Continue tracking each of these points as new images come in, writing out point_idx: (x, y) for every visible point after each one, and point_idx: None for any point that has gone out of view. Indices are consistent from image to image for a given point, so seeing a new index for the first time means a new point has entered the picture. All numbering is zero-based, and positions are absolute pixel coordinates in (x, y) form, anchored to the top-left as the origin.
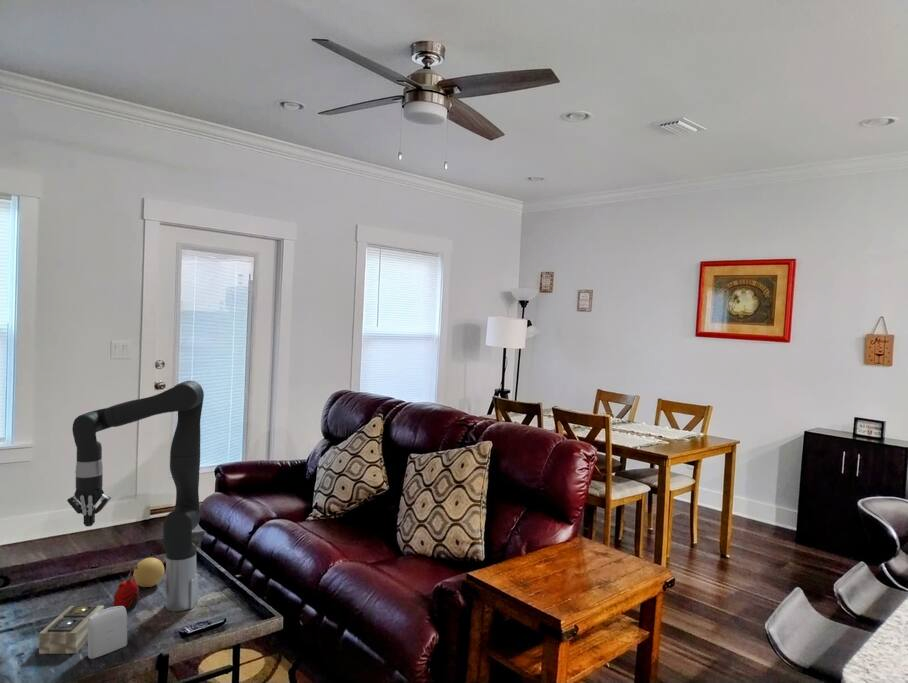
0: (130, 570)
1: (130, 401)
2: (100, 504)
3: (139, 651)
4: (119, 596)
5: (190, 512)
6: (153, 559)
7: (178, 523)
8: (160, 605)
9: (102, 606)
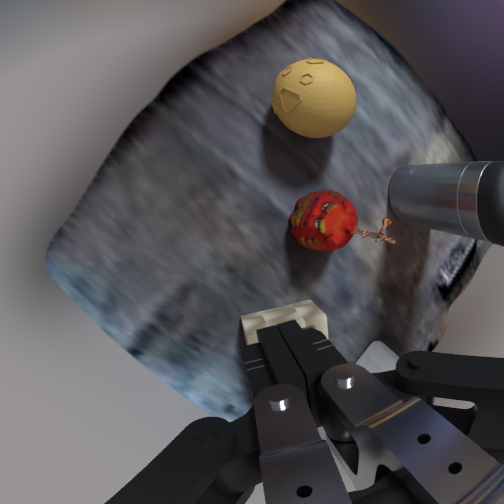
0: (375, 237)
1: None
2: (489, 447)
3: (404, 350)
4: (325, 250)
5: None
6: (343, 86)
7: None
8: (377, 200)
9: (325, 320)
